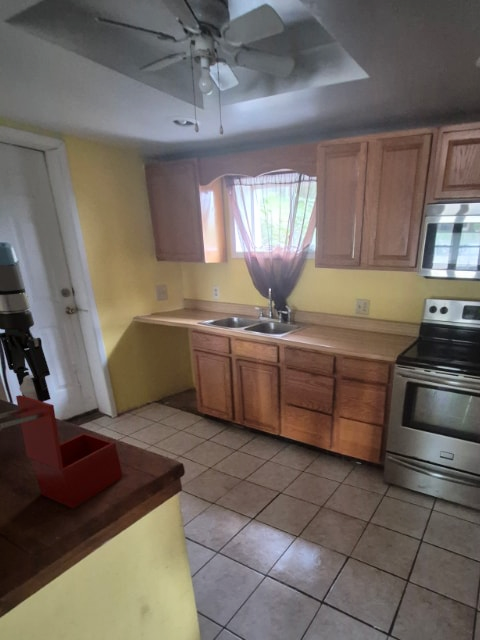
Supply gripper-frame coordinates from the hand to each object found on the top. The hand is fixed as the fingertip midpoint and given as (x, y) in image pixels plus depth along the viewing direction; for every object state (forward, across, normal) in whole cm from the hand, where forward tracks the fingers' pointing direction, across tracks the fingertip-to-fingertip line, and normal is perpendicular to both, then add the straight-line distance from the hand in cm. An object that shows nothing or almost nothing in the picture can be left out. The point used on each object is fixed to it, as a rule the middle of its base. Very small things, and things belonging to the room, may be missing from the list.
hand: (36, 397), depth 99 cm
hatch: (-5, -29, +16) cm, 33 cm away
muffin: (+1, 0, 0) cm, 1 cm away
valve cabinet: (+12, -30, +10) cm, 33 cm away
